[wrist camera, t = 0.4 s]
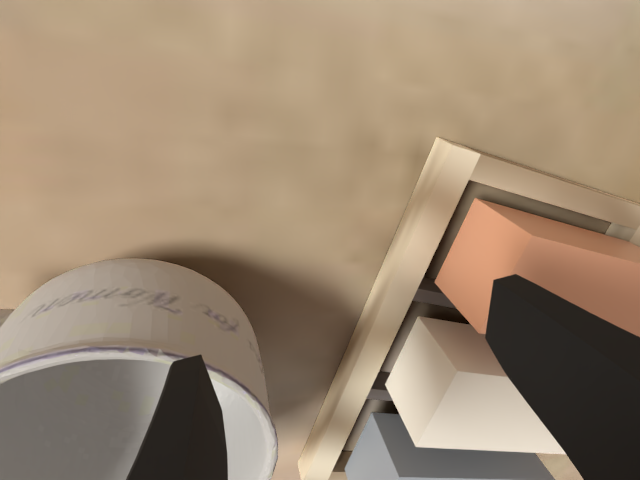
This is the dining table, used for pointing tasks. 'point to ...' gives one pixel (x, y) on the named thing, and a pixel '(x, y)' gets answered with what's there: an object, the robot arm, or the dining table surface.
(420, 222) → the wooden tray
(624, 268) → the terracotta key
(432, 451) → the grey rectangular block
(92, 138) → the dining table surface
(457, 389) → the ivory key
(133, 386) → the teacup
